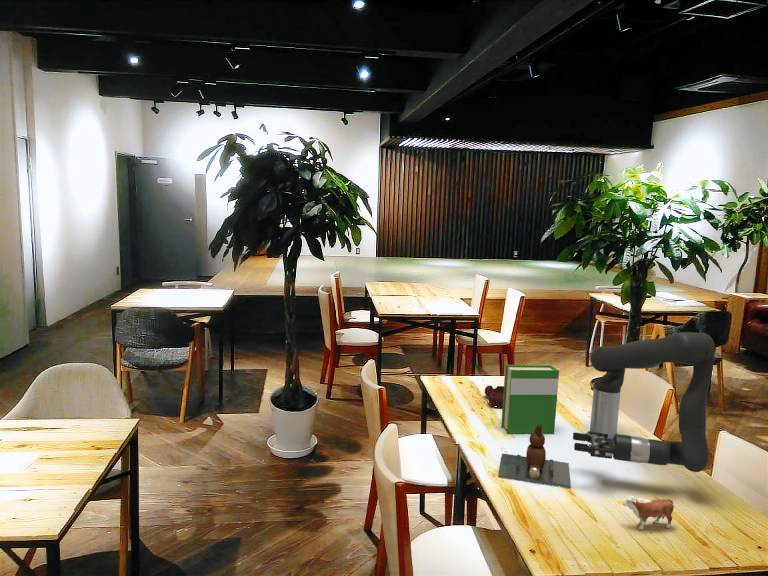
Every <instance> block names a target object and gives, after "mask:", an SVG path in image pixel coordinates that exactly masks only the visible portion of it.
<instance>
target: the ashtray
mask: <svg viewBox="0 0 768 576" xmlns="http://www.w3.org/2000/svg"><path fill="white" fill-rule="evenodd" d="M503 393H504V385H497V386H496V387H495V388H494V387H493V385H487V386H486V387H485V388H484V394H485V396H486V397H487V398H488V402H489V404H490V405H492V406H497V407H500V408H503Z"/></svg>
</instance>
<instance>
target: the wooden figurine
mask: <svg viewBox="0 0 768 576" xmlns="http://www.w3.org/2000/svg"><path fill="white" fill-rule="evenodd" d="M541 432H542V424H541V425H540V427H539V424H538V426H537V427H535V430H534V433H532V434H529V435H530V436H529V441H528V442H529V443H530V444H528V446H527V448H526V454H525V455H526V456H525V457H526V460H527V465H528V467H529V468H530V466H531V465H533V464H535V465H537V466H539V468H540V470H541V469H542V468H543V467H544V464H545V460H547V457H546V455H547V453H546V448H545V443H546V438H545V434H541Z"/></svg>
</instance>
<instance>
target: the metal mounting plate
mask: <svg viewBox="0 0 768 576" xmlns="http://www.w3.org/2000/svg"><path fill="white" fill-rule="evenodd" d="M499 462H500V463H499V468H498V474H497V478H502V479H508V480H513V481H514V480H515V481H519V482H527V483H531V484H532V483H533V484H541V485H545V484H546V485H547V486H552V485H554V486H553V487H558V486H560V487H559V488H564V489H565V488H566V489H572V488H571V487H572V483H571V482H572V481H571V475H570V474H571V473H570V464H569V462H564V461H563V462H562V461H558V460H554V459H545V464H544V467H543V468H542V469H541V470H540V468H539V466H537V465H535V464H533V465H531V466H530V468H529V467H528V465H527V460H526V456H522V455H521V454H509V453H501V456H500V461H499Z"/></svg>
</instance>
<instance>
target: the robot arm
mask: <svg viewBox="0 0 768 576" xmlns="http://www.w3.org/2000/svg"><path fill="white" fill-rule="evenodd" d="M715 355H716V346H715V342H714V340H713V338H712V336H710V335H709V334H707V333H705V332H688V331H687V332H686V331H682V332H676V333H673V334H671V335H666V336H665V337H662V338H647V339H640V340H635V341H630V342H627V343H622V344H620V345H615V346H612V345H611V346H610V345H609V346H608V345H607V346H605V345H603V346H597V347H596V348H594V349H593V350H592V352H591V354H590V359H589V360H590V364H591V366H592V367H593V369H595V370H596V371H597V372H601V373H602V372H603V373H605V374H603V375H602V376H600V377H599V378H596V379H595V380H594V383H593V393H592V394H593V395H592V403H591V412H590V413H591V414H590V422H589V423H590V425H589V426H590V427H589V431H587V433H583V432H581V433H580V432H573V433H572V439H573V440H574V441H581V442H582V443H581V442H574V446H573V449H574V451H577V452H584V453H587V454H590V457H594V458H602V459H603V458H604V459H613V460H616V461H622V462H629V463H637V464H648V465H649V464H650V465H655V466H656V465H657V466H667V465H668V464H669V465H677V466H683V467H684V468H685V469H687V470H688V471H690V472H692V473H699V472H702V471H704V470H705V469H706V468H707V466H708V463H709V448H708V440H707V435H706V432H707V402H708V393H709V389H710V384H711V378H712V373H713V368H714V363H715ZM663 363H671V364H672V363H673V364H674V363H675V364H680V365H681V364H683V365H692V376H691V379H690V381H689V384H688V386H687V388H686V389H685V391H684V394H683V395H682V397H681V400H680V403H679V408H678V430H679V431H678V432H679V433H680V436H681V437H680V438H681V441H663V440H659V439H651V438H644V437H641V436H636V435H635V436H634V435H629V434H628V435H626V434H620V433H619V434H618V433H617V432H618V422H619V414H620V413H619V411H620V399H621V392H622V390H621V389H622V387H623V385H624V382H625V381H624V379H625V375H626V369H630V370H631V369H633V370H635V369H637V370H640V369H651V368H655V367H659V366H660V365H661V364H663ZM584 442H587V443H584ZM588 443H589V444H588Z"/></svg>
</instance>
